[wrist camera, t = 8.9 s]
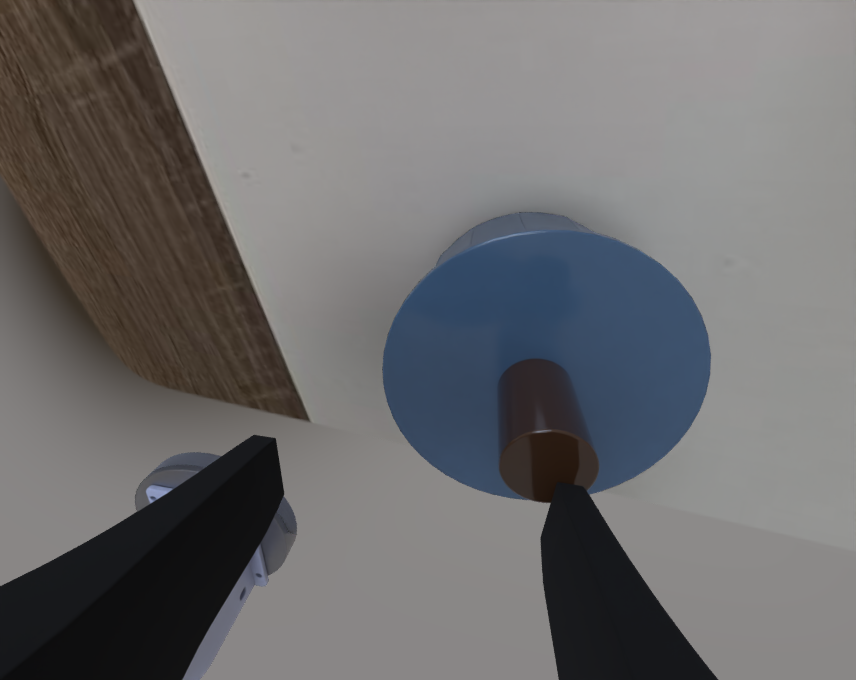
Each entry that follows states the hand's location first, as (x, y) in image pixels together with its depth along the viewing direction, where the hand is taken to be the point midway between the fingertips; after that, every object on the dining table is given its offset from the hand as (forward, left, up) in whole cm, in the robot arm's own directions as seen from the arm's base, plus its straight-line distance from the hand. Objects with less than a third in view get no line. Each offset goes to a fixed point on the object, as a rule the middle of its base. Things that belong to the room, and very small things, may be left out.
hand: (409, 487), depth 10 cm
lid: (+1, -3, -4) cm, 6 cm away
